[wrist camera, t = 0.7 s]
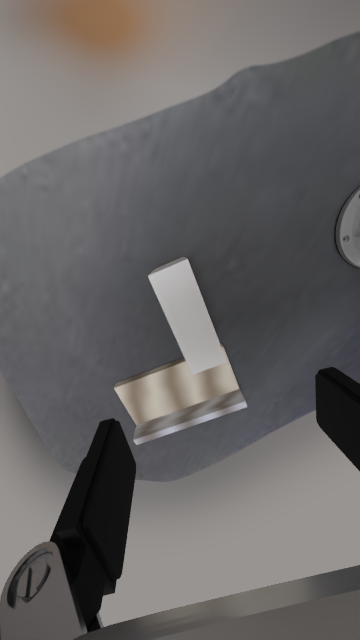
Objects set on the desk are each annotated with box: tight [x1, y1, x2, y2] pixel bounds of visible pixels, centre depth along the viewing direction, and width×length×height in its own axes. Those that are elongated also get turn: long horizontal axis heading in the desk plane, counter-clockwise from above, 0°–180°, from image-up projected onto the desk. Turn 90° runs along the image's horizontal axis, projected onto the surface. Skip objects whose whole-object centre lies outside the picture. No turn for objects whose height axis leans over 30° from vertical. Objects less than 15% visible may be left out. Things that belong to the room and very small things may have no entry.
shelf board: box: [114, 343, 247, 445], centre depth 35 cm, size 20×10×5 cm, turn 112°
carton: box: [148, 257, 227, 375], centre depth 28 cm, size 5×13×10 cm, turn 22°
